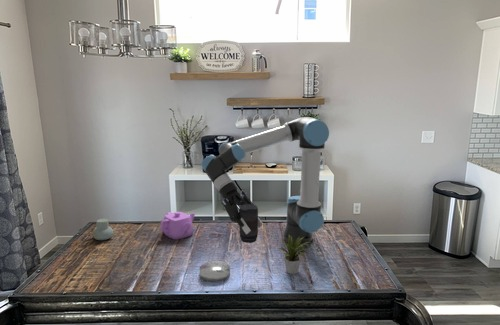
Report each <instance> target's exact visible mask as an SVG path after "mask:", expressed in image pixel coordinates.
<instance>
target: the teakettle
mask: <svg viewBox="0 0 500 325" xmlns="http://www.w3.org/2000/svg"><path fill="white" fill-rule="evenodd" d="M195 216H196V214H195V213H190V215H188V214H187V213H185V212H182V211H175V212H171V211H170V212H166V214H165V215H164V217H163V220H160V227H159V228H160V231H161V232H162V233H163V234H164V235H165V236H166V237H168V238H170V239H172V240H174V241H178V240H180V239H181V240H182V239H185V238H188V237H191V236H193V234H194V227H193V221H194V219H195Z"/></svg>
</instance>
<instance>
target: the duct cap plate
mask: <svg viewBox="0 0 500 325" xmlns="http://www.w3.org/2000/svg"><path fill="white" fill-rule="evenodd" d="M230 275H231V266H230V265H229V264H228V263H227V262H224V261H221V260H211V261H207V262H204V263H203V264H201V265H200V266H199V277H200V279H201V280H203V281H205V282H208V283H219V282H224V281H226V280H227V279H229V277H230Z"/></svg>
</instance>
